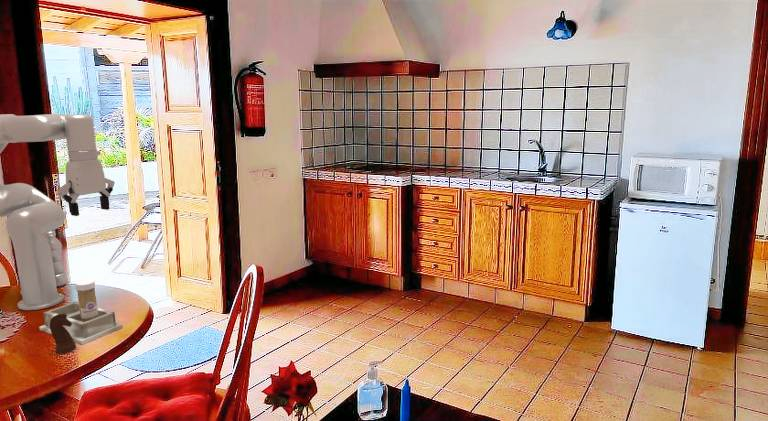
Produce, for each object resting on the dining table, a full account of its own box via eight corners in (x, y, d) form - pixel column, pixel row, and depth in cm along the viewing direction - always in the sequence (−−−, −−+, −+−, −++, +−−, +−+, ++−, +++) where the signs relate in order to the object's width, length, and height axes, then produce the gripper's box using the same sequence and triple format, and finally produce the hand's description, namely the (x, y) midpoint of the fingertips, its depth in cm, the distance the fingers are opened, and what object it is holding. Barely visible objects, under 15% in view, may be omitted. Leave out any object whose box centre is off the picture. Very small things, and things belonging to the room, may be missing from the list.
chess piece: (75, 351, 140) (70, 315, 138) (52, 355, 138) (47, 319, 136) (76, 344, 144) (71, 309, 142) (54, 348, 142) (49, 312, 140)
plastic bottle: (58, 289, 186) (49, 233, 182) (41, 288, 188) (32, 233, 184) (72, 283, 193) (64, 229, 188) (56, 282, 194) (48, 228, 190)
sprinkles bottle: (88, 331, 149) (82, 285, 146) (78, 328, 151) (71, 282, 148) (103, 325, 153) (97, 280, 150) (93, 322, 155) (87, 278, 152)
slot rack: (39, 330, 154) (37, 313, 153) (80, 315, 164) (78, 299, 163) (82, 344, 144) (79, 327, 143) (122, 327, 154) (120, 311, 153)
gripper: (102, 153, 171) (109, 206, 174) (46, 159, 156) (55, 216, 159) (117, 154, 167) (123, 208, 171) (61, 160, 152) (70, 219, 156)
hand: (90, 212), depth 165 cm, fingers open, 9 cm apart
